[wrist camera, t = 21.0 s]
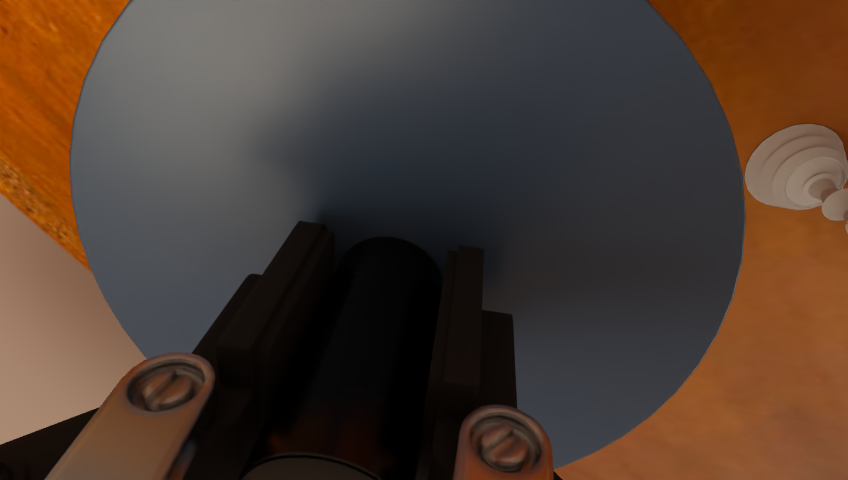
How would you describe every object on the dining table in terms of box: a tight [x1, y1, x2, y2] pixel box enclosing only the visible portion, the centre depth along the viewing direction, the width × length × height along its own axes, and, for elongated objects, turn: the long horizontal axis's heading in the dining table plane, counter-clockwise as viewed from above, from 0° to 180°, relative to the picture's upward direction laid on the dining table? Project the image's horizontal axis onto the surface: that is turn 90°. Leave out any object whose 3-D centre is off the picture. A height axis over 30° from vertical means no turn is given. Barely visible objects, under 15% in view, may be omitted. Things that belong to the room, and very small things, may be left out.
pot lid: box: [70, 0, 746, 480], centre depth 10 cm, size 15×15×7 cm
